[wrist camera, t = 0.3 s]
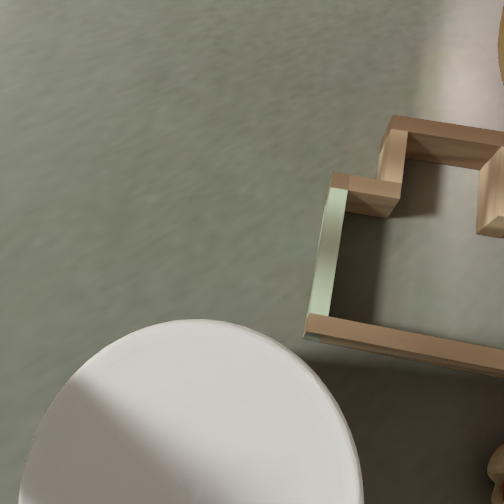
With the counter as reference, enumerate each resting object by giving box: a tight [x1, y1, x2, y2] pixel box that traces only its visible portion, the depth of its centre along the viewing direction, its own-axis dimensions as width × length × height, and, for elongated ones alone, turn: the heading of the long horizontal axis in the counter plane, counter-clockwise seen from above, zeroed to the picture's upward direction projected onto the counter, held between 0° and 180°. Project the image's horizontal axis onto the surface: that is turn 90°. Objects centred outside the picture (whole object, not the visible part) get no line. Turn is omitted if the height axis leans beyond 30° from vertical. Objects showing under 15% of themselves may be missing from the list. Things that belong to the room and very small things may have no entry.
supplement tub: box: [19, 319, 364, 504], centre depth 20 cm, size 10×10×15 cm
